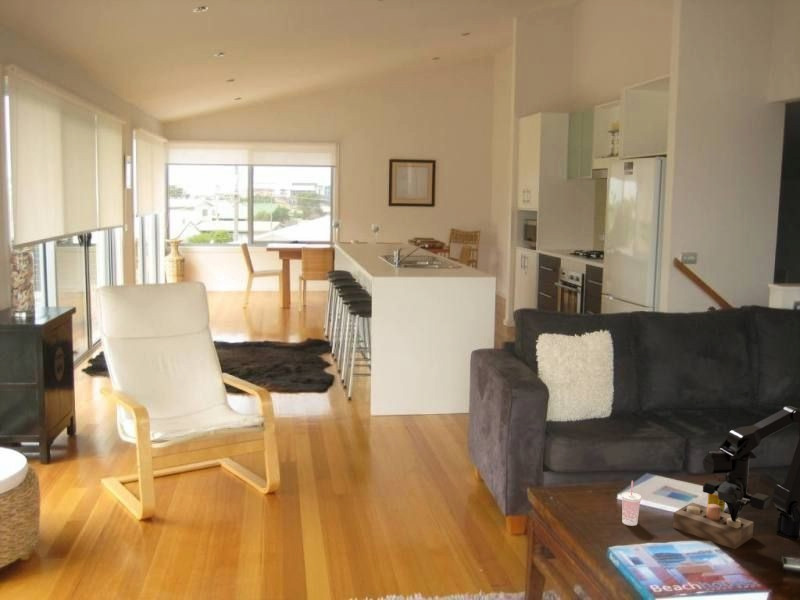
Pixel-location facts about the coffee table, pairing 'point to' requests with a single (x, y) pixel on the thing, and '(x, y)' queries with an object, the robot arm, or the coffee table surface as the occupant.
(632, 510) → the beverage cup
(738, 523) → the maple plug near
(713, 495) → the supplement bottle
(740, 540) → the wooden compartment tray
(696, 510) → the maple plug far
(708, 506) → the terracotta plug
